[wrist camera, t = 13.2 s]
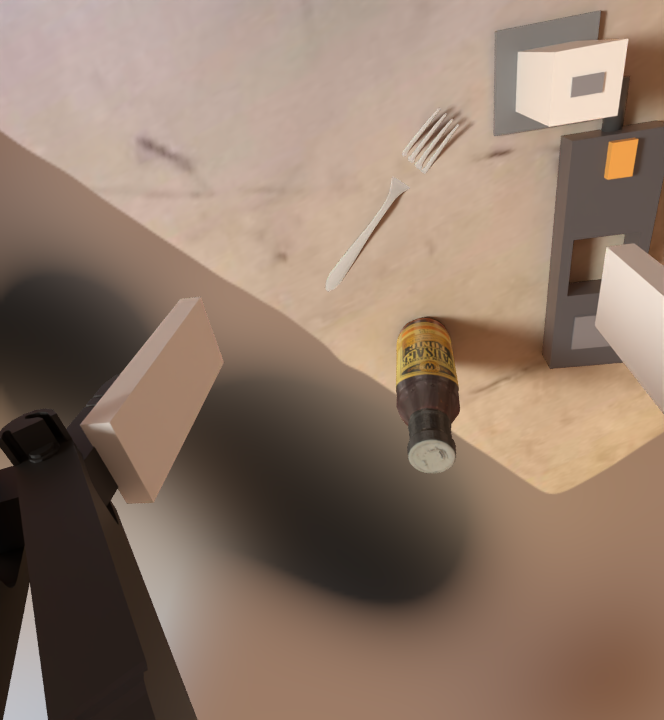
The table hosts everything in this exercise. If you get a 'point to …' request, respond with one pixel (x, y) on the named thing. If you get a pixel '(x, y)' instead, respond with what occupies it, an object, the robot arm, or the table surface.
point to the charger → (571, 81)
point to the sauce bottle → (427, 393)
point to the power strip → (598, 224)
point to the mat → (527, 39)
